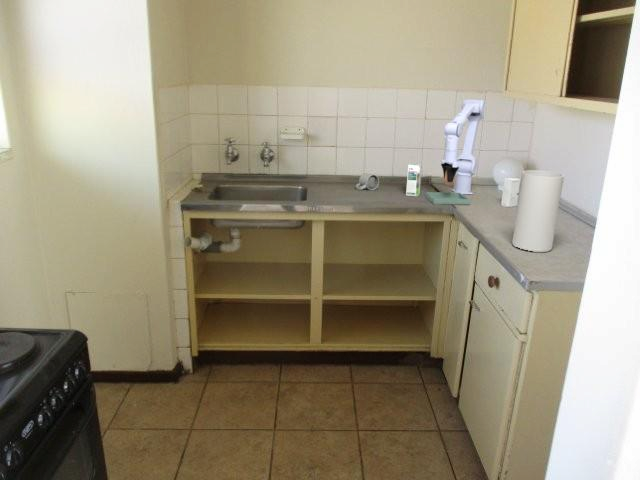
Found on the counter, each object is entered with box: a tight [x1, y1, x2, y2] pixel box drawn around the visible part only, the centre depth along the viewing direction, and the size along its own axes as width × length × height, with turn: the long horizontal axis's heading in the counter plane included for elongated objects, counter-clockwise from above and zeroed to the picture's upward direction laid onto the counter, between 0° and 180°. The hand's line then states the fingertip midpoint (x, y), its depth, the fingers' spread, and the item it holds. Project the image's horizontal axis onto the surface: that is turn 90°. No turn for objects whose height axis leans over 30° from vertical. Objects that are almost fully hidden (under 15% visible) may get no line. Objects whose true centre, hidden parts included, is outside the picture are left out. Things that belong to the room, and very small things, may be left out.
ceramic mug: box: [355, 173, 380, 191], centre depth 258 cm, size 11×8×8 cm
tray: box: [425, 191, 471, 206], centre depth 237 cm, size 14×16×2 cm
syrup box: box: [405, 163, 423, 197], centre depth 246 cm, size 6×6×14 cm
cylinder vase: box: [511, 169, 565, 253], centre depth 173 cm, size 12×12×25 cm
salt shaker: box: [443, 170, 457, 187], centre depth 236 cm, size 5×5×7 cm
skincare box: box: [500, 177, 521, 208], centre depth 231 cm, size 6×4×12 cm
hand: (448, 180), depth 236 cm, fingers closed on salt shaker, 5 cm apart
